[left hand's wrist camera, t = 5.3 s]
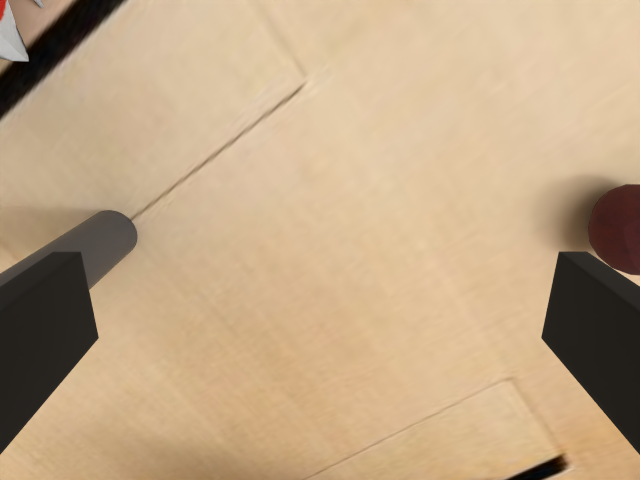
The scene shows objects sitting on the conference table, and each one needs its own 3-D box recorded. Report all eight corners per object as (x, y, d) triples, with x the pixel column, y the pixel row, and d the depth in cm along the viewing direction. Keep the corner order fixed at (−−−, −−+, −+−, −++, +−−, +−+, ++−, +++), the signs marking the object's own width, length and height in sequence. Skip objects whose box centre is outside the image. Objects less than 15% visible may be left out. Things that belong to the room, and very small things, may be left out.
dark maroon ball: (590, 268, 42) (639, 303, 36) (558, 203, 40) (604, 228, 34) (665, 228, 41) (731, 257, 34) (636, 158, 39) (701, 175, 32)
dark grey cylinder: (81, 214, 41) (-111, 327, 23) (128, 206, 41) (-29, 313, 22) (98, 259, 42) (-69, 397, 24) (143, 251, 42) (9, 385, 24)
